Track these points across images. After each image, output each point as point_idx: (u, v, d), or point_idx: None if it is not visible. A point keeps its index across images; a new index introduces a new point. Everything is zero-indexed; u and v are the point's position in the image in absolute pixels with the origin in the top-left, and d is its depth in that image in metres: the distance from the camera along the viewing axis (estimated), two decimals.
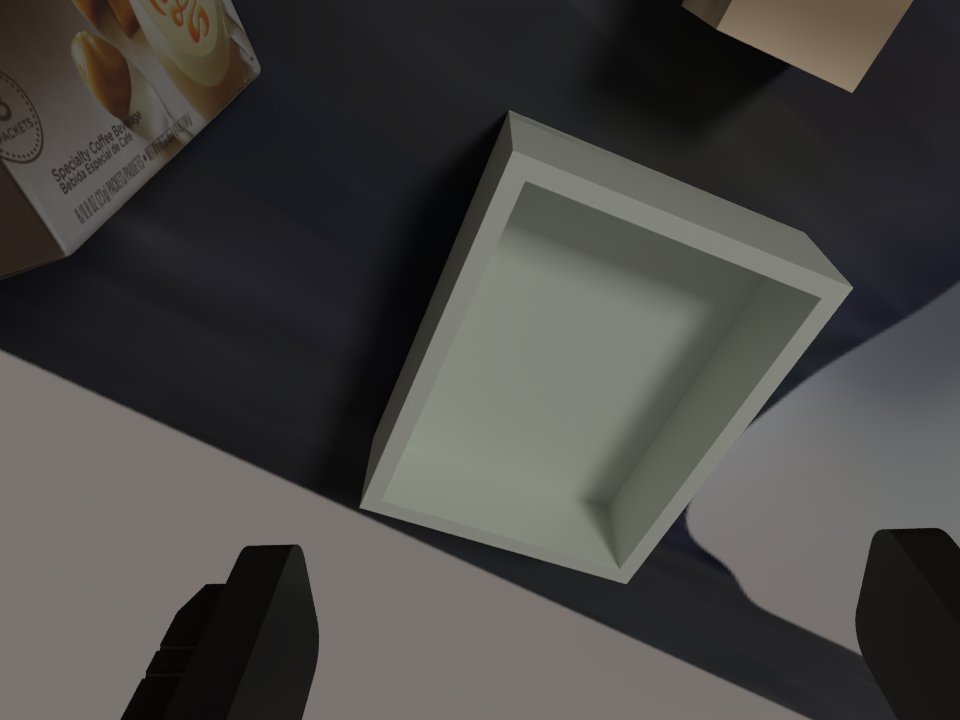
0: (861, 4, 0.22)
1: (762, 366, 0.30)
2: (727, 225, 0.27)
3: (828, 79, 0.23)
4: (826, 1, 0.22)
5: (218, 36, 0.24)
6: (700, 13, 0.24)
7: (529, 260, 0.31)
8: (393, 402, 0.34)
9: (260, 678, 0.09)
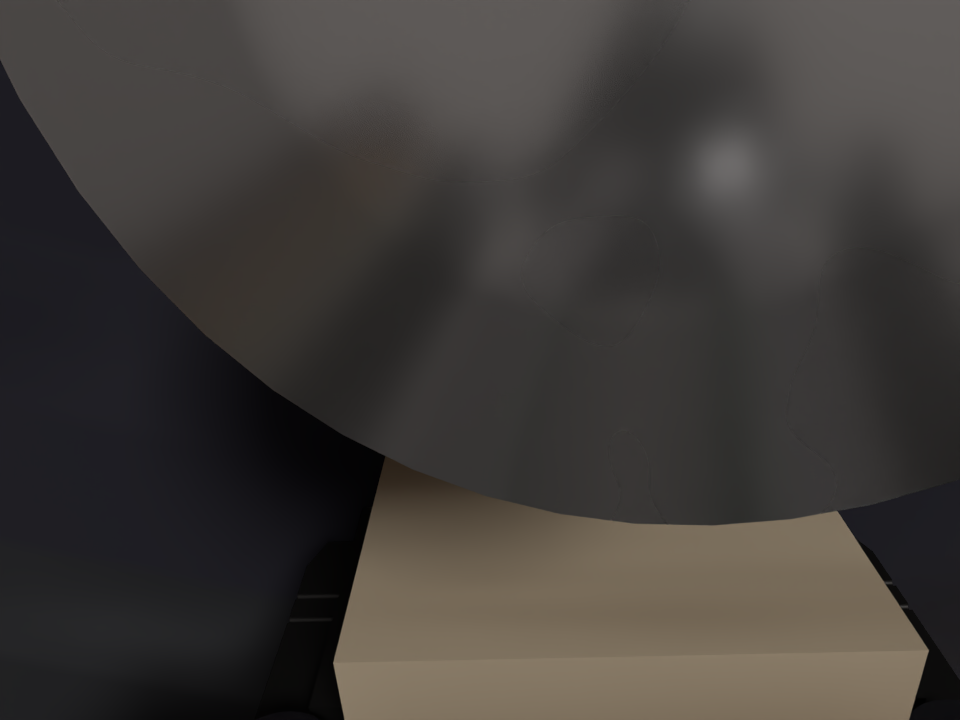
0: None
1: None
2: None
3: None
4: None
5: None
6: None
7: None
8: None
9: None
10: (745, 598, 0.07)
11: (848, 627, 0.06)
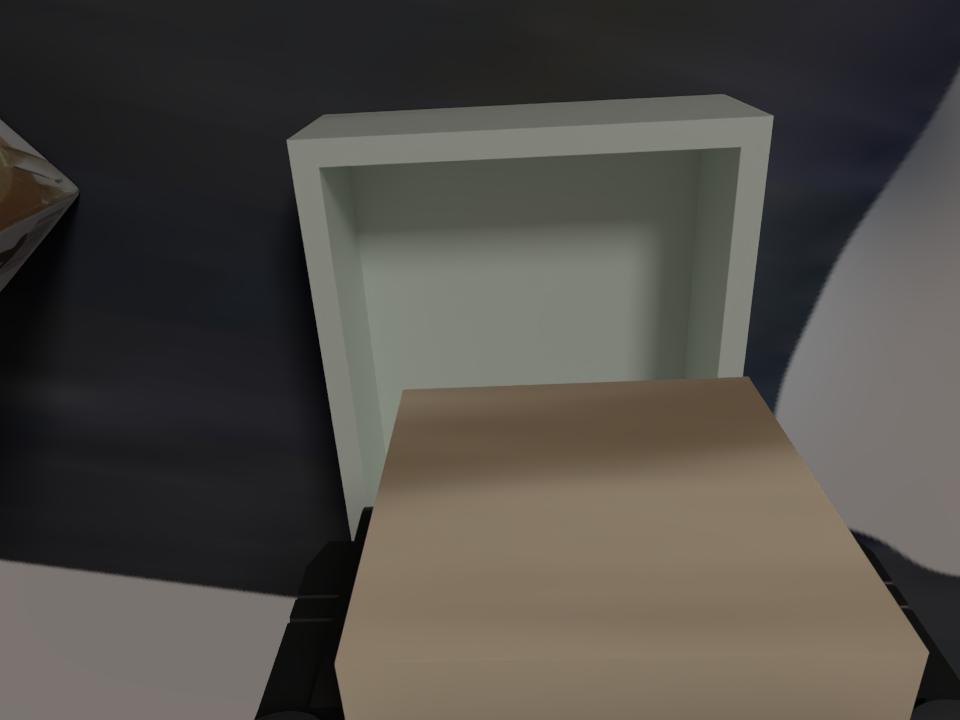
0: None
1: (724, 264, 0.23)
2: (588, 117, 0.22)
3: None
4: None
5: None
6: None
7: (425, 262, 0.27)
8: None
9: None
10: (746, 599, 0.07)
11: (848, 629, 0.06)
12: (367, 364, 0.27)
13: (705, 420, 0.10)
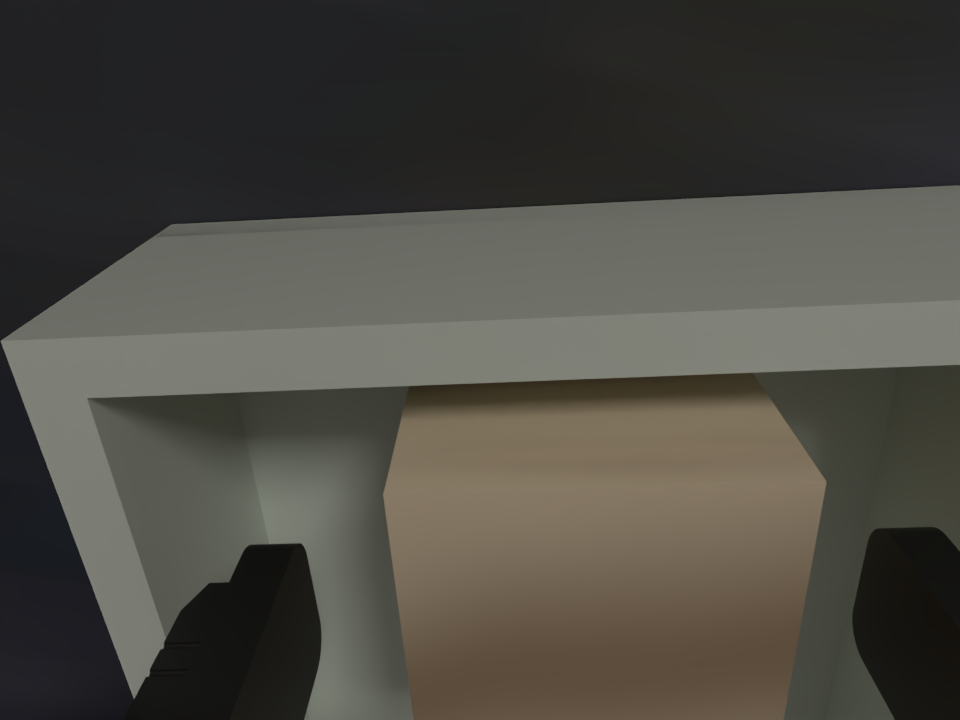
0: (688, 663, 0.10)
1: None
2: (720, 267, 0.10)
3: None
4: (607, 682, 0.10)
5: None
6: None
7: (375, 486, 0.15)
8: None
9: (263, 677, 0.09)
10: (693, 453, 0.09)
11: (769, 469, 0.09)
12: None
13: None
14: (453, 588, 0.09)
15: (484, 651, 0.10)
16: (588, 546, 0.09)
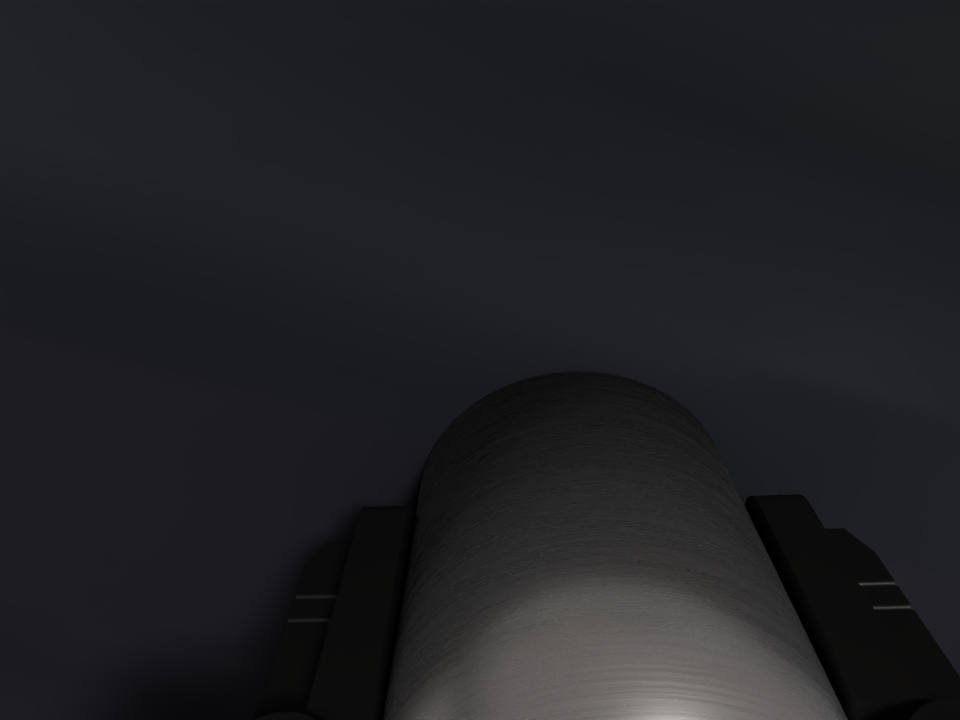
0: None
1: None
2: None
3: None
4: None
5: None
6: None
7: None
8: None
9: (395, 622, 0.09)
10: None
11: None
12: None
13: None
14: None
15: None
16: None
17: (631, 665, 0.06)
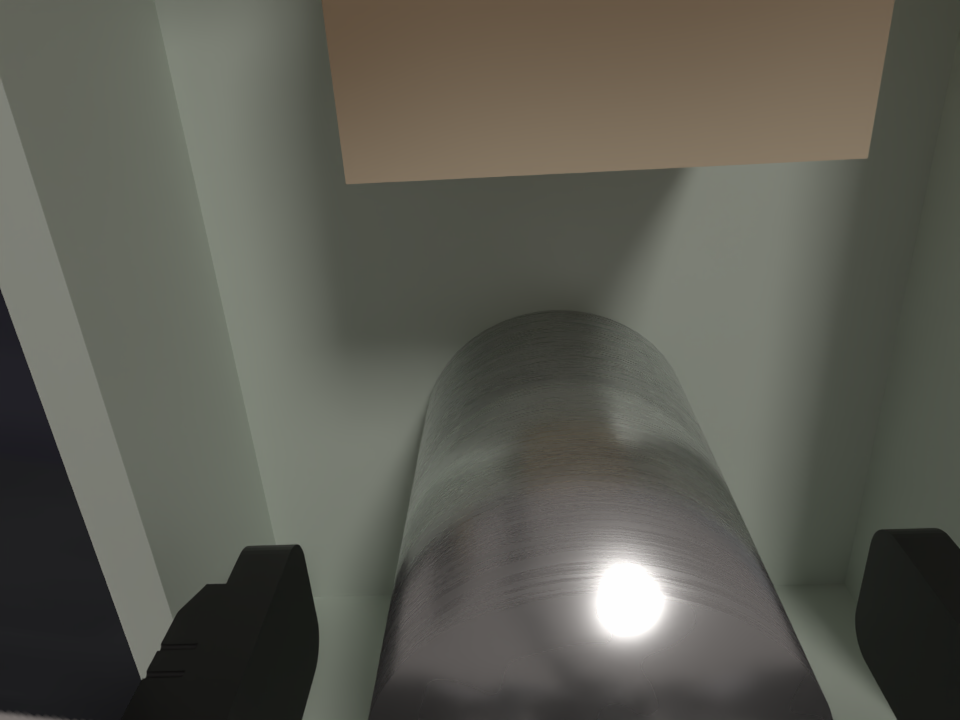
0: None
1: None
2: None
3: (766, 157, 0.07)
4: None
5: None
6: None
7: (310, 8, 0.11)
8: None
9: (260, 677, 0.09)
10: None
11: None
12: (180, 260, 0.12)
13: None
14: None
15: None
16: None
17: (586, 493, 0.08)
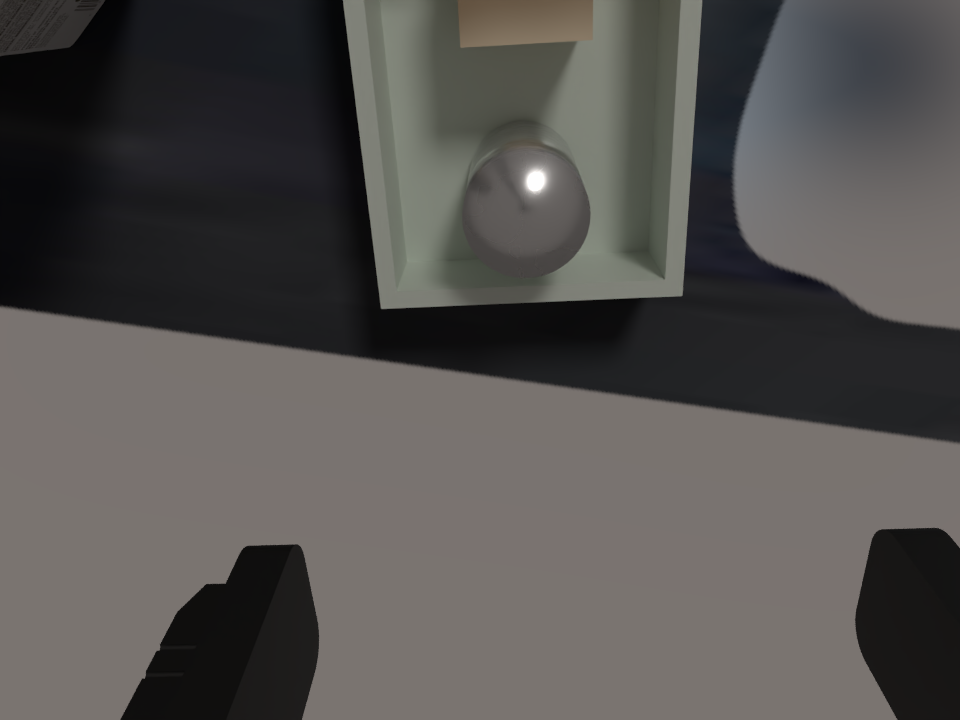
0: None
1: None
2: None
3: (567, 40, 0.28)
4: None
5: None
6: None
7: (434, 3, 0.32)
8: None
9: (259, 677, 0.09)
10: None
11: None
12: (385, 93, 0.32)
13: None
14: None
15: None
16: None
17: (521, 144, 0.29)
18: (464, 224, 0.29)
